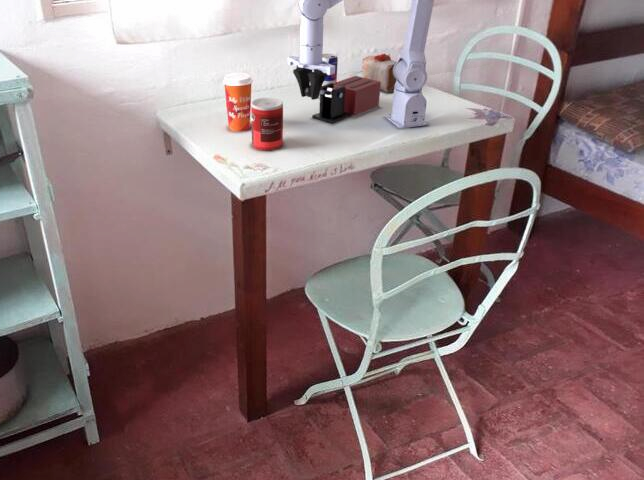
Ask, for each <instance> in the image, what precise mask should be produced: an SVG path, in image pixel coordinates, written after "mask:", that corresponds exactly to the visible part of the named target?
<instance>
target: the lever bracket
mask: <svg viewBox="0 0 644 480" xmlns="http://www.w3.org/2000/svg"><path fill="white" fill-rule="evenodd" d="M327 87H328V88H334V83H329V84H326V85H323V86H322V87H321V90H327ZM344 99H345V86H340V87H337V88H335V89H332V97H331V98H329V97H326V96H325V95H324V94H320V97H319V112H317V113H315V114H312V115H311V118H312V119H314V120H317V121H320V122H322V123H323V122H324V123H327V124H330V125H333V124H336V123H338V122H341V121H343V120H345V119H348V118H351V117H352V116H351V114H349V113H346V112H344Z"/></svg>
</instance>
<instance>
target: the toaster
mask: <svg viewBox="0 0 644 480" xmlns="http://www.w3.org/2000/svg"><path fill="white" fill-rule="evenodd" d="M380 85H381V82H380V81H376V80H371V79H367V78H363V77H362V76H359V75H353V76H350V77H348V78H343V79H342V80H339V81H337V82H336V83H334V88H337V87H340V86H345V99H344V112H346V113H349V114H351V117H352V118H356V117H359V116H362V115H364V114H367V113H369V112H372V111H374V110H377V109H378V108H380V97H381V90H380Z"/></svg>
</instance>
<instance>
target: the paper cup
mask: <svg viewBox="0 0 644 480" xmlns="http://www.w3.org/2000/svg"><path fill="white" fill-rule="evenodd" d="M253 82H254V79H253V77H252V76H251V74H250V73H246V72H232V73H231V72H230V73H227V74H226V75H225V76H224V79H223V81H222V83H223V84H224V93H225V105H226V106H225V107H226V114H227V122H228V123H227V124H228V129H229V130H230V131H232V132H244V131H248V130H249V129H250V126H251V104H252V85H253V84H252V83H253Z"/></svg>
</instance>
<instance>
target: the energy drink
mask: <svg viewBox="0 0 644 480" xmlns="http://www.w3.org/2000/svg"><path fill="white" fill-rule="evenodd" d="M338 59H339V58H338V55H337V54H335V53H322V61H325V62H327V63H329V64H331V65H334V66H335V74H332V75H327V77H326V78H325V80H324V82H323V85H326V84H329V83H336V82H338V81H337V80H338V65H339V64H338V62H339V61H338ZM323 85H322V86H323ZM318 98H320V94H319V97H318Z"/></svg>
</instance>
